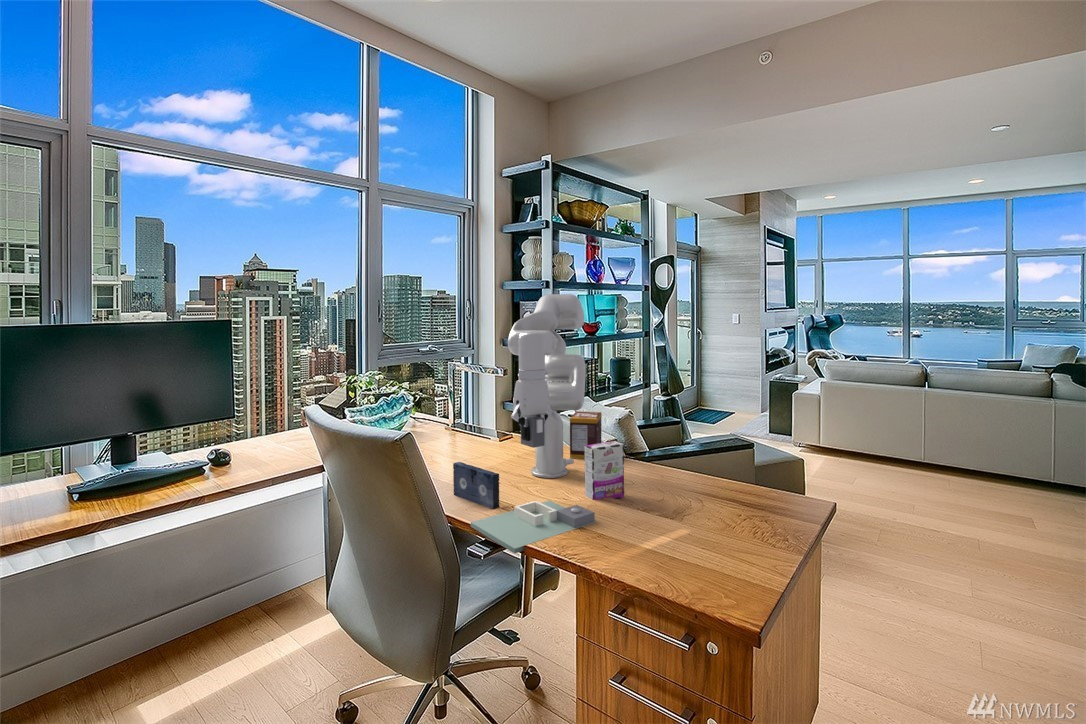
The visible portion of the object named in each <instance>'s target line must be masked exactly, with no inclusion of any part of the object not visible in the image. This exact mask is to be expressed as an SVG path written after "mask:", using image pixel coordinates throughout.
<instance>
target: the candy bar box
mask: <svg viewBox="0 0 1086 724" xmlns="http://www.w3.org/2000/svg"><path fill="white" fill-rule="evenodd" d="M624 448H625V445H624V443H622V442H620V441H617V440H612V441H607V442H606V441H605V442H601V443H598V444H592V445H585V459H584V495H585V497H587V498H589V499H591V500H592V501H593V500H601V499H605V498H612V499H615V500H617V499H618V500H619V499H622V498H624V497H625V453H624V451H625V449H624Z"/></svg>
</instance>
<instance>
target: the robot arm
mask: <svg viewBox="0 0 1086 724" xmlns="http://www.w3.org/2000/svg"><path fill="white" fill-rule="evenodd" d="M584 323H585V312H584V308H583V306H582V302H581V300H580V299H579V297H578V296H577V295H574V294H572V293H565V294H561V293H557V294H556V293H554V294H552V293H551V294H545V295H542V296H541V297H540V298H539V300H538V301H537V303H536V306H535V308H534V311H533V313H530V314H528V315H526V316H524V317H521V318H520V319H518V320H517V321H516V322H514V324H513V326H512V327H511V330H510V331H509V334H508V337H507V338H508V339H507V348H508V350H509V352H510V353H511V354H512V355H515V356H518V380H516V381H515V385H514V391H513V400H512V401H513V402H512V403H513V407H512V408H513V409H512V410H513V411H512V413H511V415H510V418H511V419H513V420H514V421H516V423H518V424H519V426H520V437H521V436H522V440H526V441H530V427H528V424H529V417H530V416H534V415H535V416H539V417H543V418H544V446H540V447H535V466H533V467H532V468H531V470H530V473H531V475H532V476H534V477H538V478H543V479H544V478H545V479H555V478H561V477H565V476H566V475H568V473H569V470H568V468H567V466H568V465H573V464H575V460H574V458H565V457H564V421H563V418H562V417H561V415H560V414H559V413H558V411H580V410H581V409H582V408H583V406H584V403H585V391H586V390H585V389H586V388H585V387H586V386H585V385H586V374H587V373H586V361H585V359H584V357H583V356H582V355H580V354H572V353H571V354H569V353H568V354H566V352H567V351H566V350H567V344H566V342H565V340H564V339H563V338H562V336H561V335H560V334H559V333H558V332H557V331H555V330H579V329H581V328H583V325H584ZM519 415H520V416H519ZM524 419H525V420H524Z"/></svg>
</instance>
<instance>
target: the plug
mask: <svg viewBox="0 0 1086 724" xmlns="http://www.w3.org/2000/svg"><path fill="white" fill-rule="evenodd" d="M524 420H525V419H524ZM528 427H530V441H526V440H522V436H521V435H520V445H524V446H526V447H530V448H535V449H536V447H540V446H544V418H543V417H539V416H535V415H534V416H530V417H529V424H528Z"/></svg>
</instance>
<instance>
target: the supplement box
mask: <svg viewBox="0 0 1086 724" xmlns="http://www.w3.org/2000/svg"><path fill="white" fill-rule="evenodd" d="M602 413H603V412H602V411H583V410H575V412H574V413H573V414H572V415H571V417H569V459H571V458H572V459H577V460H578V459H580V460H581V459H582V460H583V459H584V460H585V445H592V444H598V443H602Z"/></svg>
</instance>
